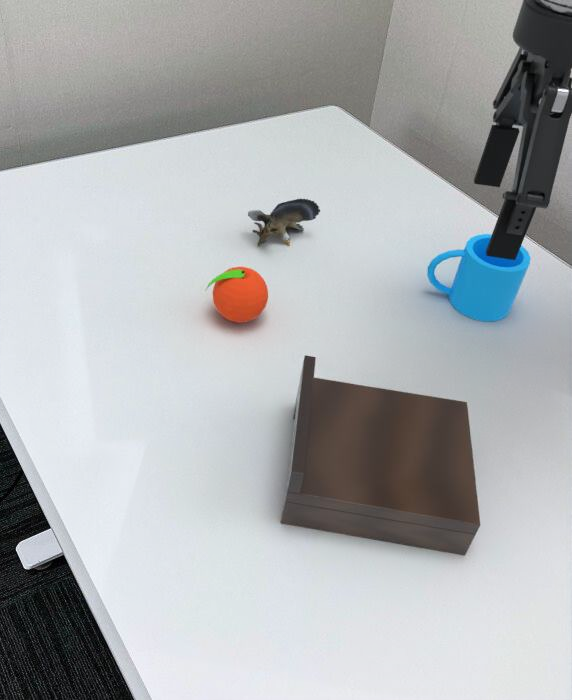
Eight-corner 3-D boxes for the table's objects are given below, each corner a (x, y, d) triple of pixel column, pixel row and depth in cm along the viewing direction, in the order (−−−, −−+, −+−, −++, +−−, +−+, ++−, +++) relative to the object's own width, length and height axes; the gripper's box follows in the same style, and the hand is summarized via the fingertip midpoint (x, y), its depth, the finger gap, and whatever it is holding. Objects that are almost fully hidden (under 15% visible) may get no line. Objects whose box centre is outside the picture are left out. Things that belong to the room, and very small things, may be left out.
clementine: (208, 337, 95) (212, 291, 90) (197, 301, 100) (200, 256, 95) (271, 331, 97) (277, 286, 92) (257, 296, 102) (263, 252, 97)
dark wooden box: (454, 432, 86) (475, 382, 81) (465, 555, 75) (490, 505, 69) (294, 406, 88) (304, 354, 82) (280, 523, 76) (291, 472, 70)
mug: (507, 289, 107) (527, 240, 101) (512, 326, 101) (533, 276, 95) (420, 273, 108) (435, 224, 103) (419, 309, 102) (435, 259, 97)
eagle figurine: (288, 258, 107) (329, 224, 110) (266, 212, 104) (309, 179, 108) (254, 259, 113) (294, 227, 117) (233, 216, 110) (275, 185, 114)
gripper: (508, -48, 74) (448, 154, 88) (549, 51, 55) (465, 285, 70) (588, -38, 73) (515, 163, 88) (656, 65, 55) (549, 298, 69)
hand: (492, 217), depth 79 cm, fingers open, 13 cm apart
